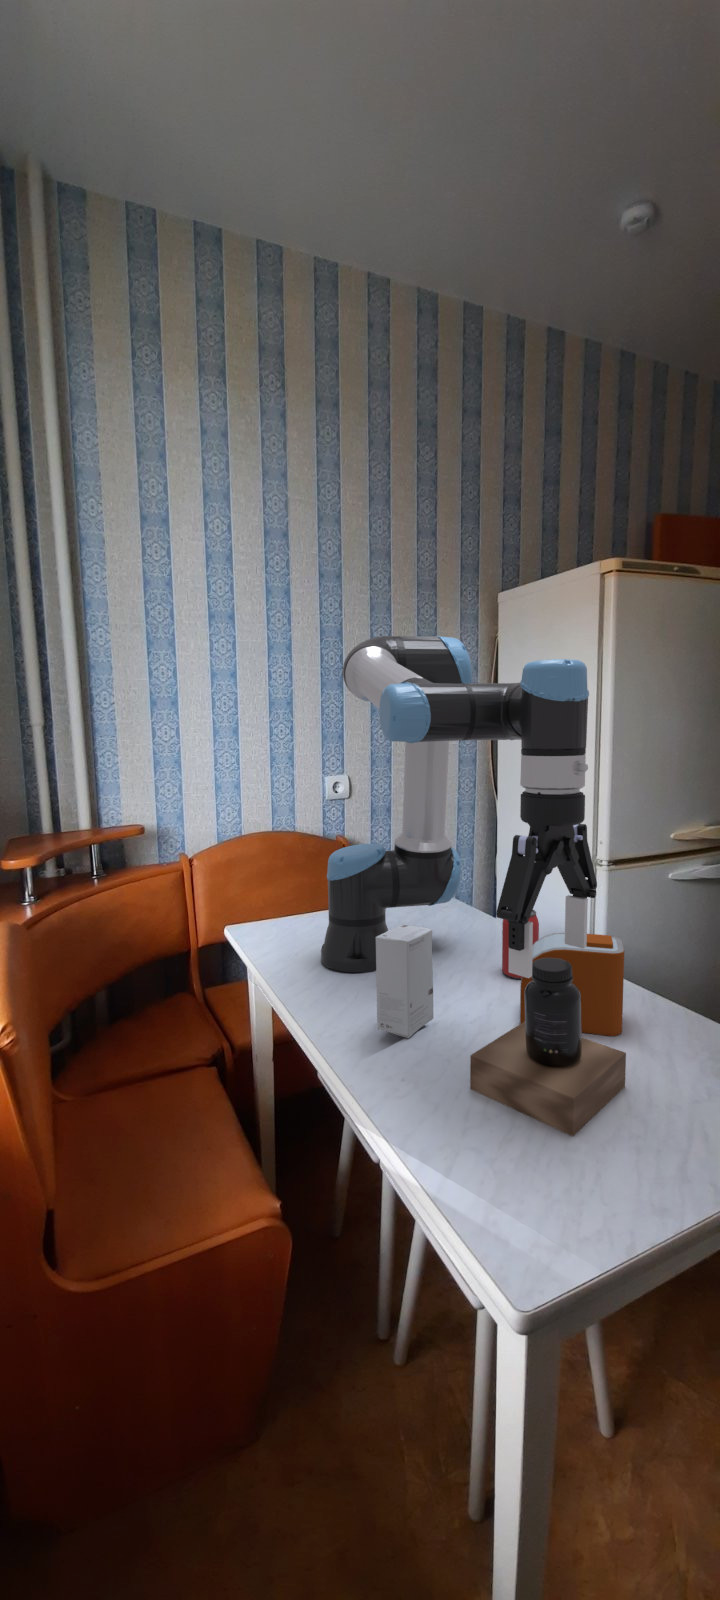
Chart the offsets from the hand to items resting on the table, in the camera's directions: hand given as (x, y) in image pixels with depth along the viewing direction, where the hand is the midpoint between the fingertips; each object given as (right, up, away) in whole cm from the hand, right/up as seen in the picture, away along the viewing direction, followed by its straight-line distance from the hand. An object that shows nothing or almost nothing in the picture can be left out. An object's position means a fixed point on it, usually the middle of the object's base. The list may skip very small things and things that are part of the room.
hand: (549, 959), depth 81 cm
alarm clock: (+9, -15, +21) cm, 27 cm away
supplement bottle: (+1, -13, +1) cm, 13 cm away
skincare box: (-17, -15, +20) cm, 30 cm away
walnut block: (0, -17, +2) cm, 18 cm away
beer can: (+6, -13, +40) cm, 42 cm away
